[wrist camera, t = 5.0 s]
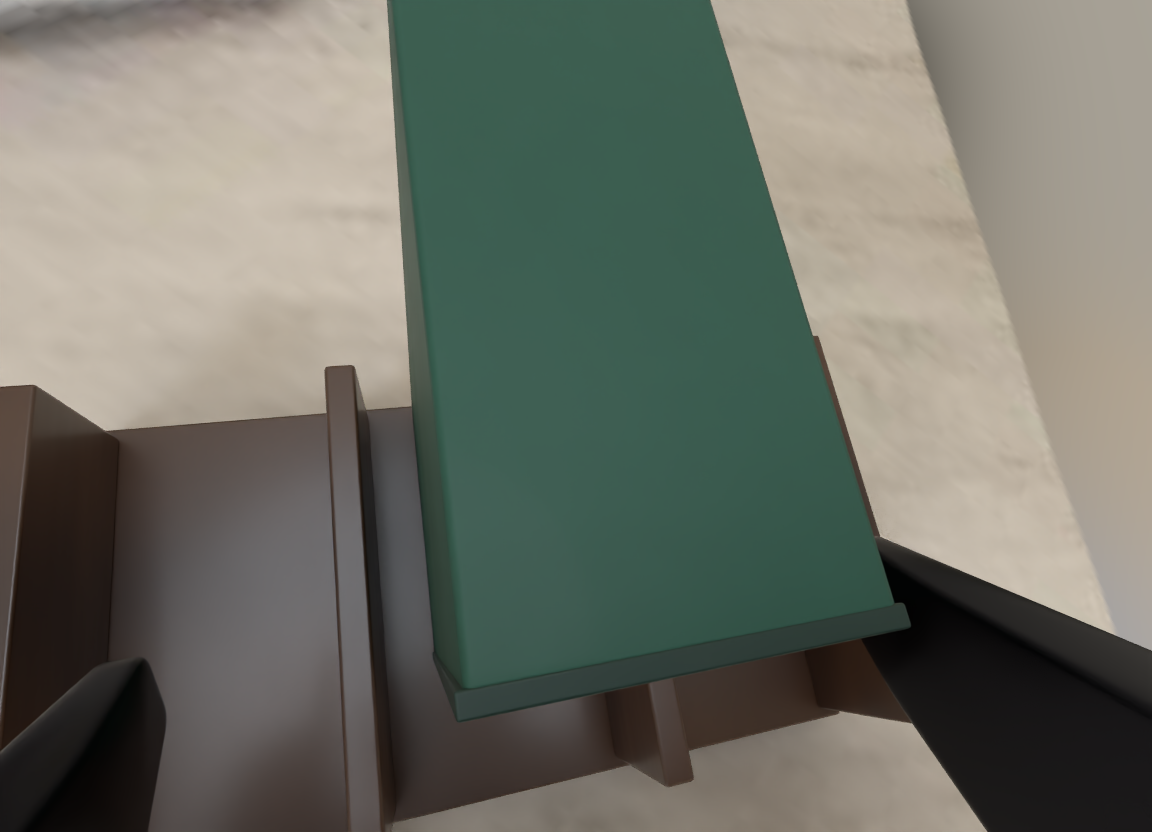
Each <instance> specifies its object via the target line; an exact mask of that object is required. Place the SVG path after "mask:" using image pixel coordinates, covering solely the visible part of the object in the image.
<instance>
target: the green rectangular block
mask: <svg viewBox="0 0 1152 832" xmlns="http://www.w3.org/2000/svg"><path fill="white" fill-rule="evenodd" d="M387 8H388V24H389V40H390V57H391V73H392V89H393V106H394V122H395V138H396V155H397V171H398V187H399V204H400V220H401V236H402V253H403V269H404V285H405V302H406V318H407V334H408V351H409V367H410V383H411V400H412V416H413V427H414V437H415V448H416V459H417V470H418V480H419V491H420V502H421V513H422V523H423V534H424V545H425V555H426V566H427V577H428V588H429V598H430V609H431V620H432V630H433V641H434V652H433V653H432V654H433V660H434V663H435V666H436V668H437V671H438V674H439V676H440V679H441V682H442V684H443V687H444V690H445V692H446V695H447V698H448V700H449V703H450V706H451V708H452V711H453V714H454V716H455V719H456V721H457V722H458V723H462V722H467V721H472V720H476V719H481V718H486V717H491V716H495V715H500V714H505V713H510V712H514V711H519V710H524V709H529V708H533V707H538V706H543V705H548V704H552V703H557V702H562V701H566V700H571V699H576V698H581V697H585V696H590V695H595V694H600V693H604V692H609V691H614V690H619V689H623V688H628V687H633V686H638V685H642V684H647V683H652V682H657V681H661V680H666V679H671V678H676V677H680V676H685V675H690V674H695V673H699V672H704V671H709V670H713V669H718V668H723V667H728V666H732V665H737V664H742V663H747V662H751V661H756V660H761V659H766V658H770V657H775V656H780V655H785V654H789V653H794V652H799V651H804V650H808V649H813V648H818V647H823V646H827V645H832V644H837V643H842V642H846V641H851V640H856V639H861V638H865V637H870V636H875V635H879V634H884V633H889V632H894V631H898V630H903V629H908V628H910V627H911V624H910V620H909V617H908V614H907V611H906V608H905V605H904V604H903V603H894V600H893V597H892V593H891V590H890V587H889V584H888V580H887V577H886V574H885V571H884V567H883V564H882V561H881V557H880V554H879V551H878V548H877V544H876V541H875V538H874V535H873V531H872V528H871V525H870V521H869V518H868V515H867V512H866V508H865V505H864V502H863V499H862V495H861V492H860V489H859V486H858V482H857V479H856V476H855V472H854V469H853V466H852V463H851V459H850V456H849V453H848V450H847V446H846V443H845V440H844V436H843V433H842V430H841V427H840V423H839V420H838V417H837V414H836V410H835V407H834V404H833V400H832V397H831V394H830V391H829V387H828V384H827V381H826V378H825V374H824V371H823V368H822V365H821V361H820V358H819V355H818V351H817V348H816V345H815V342H814V338H813V335H812V332H811V329H810V325H809V322H808V319H807V315H806V312H805V309H804V306H803V302H802V299H801V296H800V293H799V289H798V286H797V283H796V280H795V276H794V273H793V270H792V266H791V263H790V260H789V257H788V253H787V250H786V247H785V244H784V240H783V237H782V234H781V230H780V227H779V224H778V221H777V217H776V214H775V211H774V208H773V204H772V201H771V198H770V194H769V191H768V188H767V185H766V181H765V178H764V175H763V172H762V168H761V165H760V162H759V159H758V155H757V152H756V149H755V145H754V142H753V139H752V136H751V132H750V129H749V126H748V123H747V119H746V116H745V113H744V109H743V106H742V103H741V100H740V96H739V93H738V90H737V87H736V83H735V80H734V77H733V73H732V70H731V67H730V64H729V60H728V57H727V54H726V51H725V47H724V44H723V41H722V38H721V34H720V31H719V28H718V24H717V21H716V18H715V15H714V11H713V8H712V5H711V2H710V0H387Z"/></svg>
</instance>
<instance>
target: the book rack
mask: <svg viewBox="0 0 1152 832" xmlns="http://www.w3.org/2000/svg"><path fill="white" fill-rule="evenodd" d="M813 338H814V342H815V345H816V348H817V351H818V355H819V358H820V361H821V365H822V368H823V371H824V374H825V378H826V381H827V384H828V387H829V391H830V394H831V397H832V400H833V404H834V407H835V410H836V414H837V417H838V420H839V423H840V427H841V430H842V433H843V436H844V440H845V443H846V446H847V450H848V453H849V456H850V459H851V463H852V466H853V469H854V472H855V476H856V479H857V482H858V486H859V489H860V492H861V495H862V499H863V502H864V505H865V508H866V512H867V515H868V518H869V521H870V525H871V528H872V531H873V535H874V536H877V537H880V535H879V532H878V528H877V525H876V522H875V519H874V515H873V512H872V509H871V506H870V502H869V499H868V496H867V493H866V489H865V486H864V483H863V480H862V476H861V473H860V470H859V467H858V463H857V460H856V457H855V454H854V451H853V447H852V444H851V441H850V438H849V434H848V431H847V428H846V425H845V421H844V418H843V415H842V412H841V408H840V405H839V402H838V399H837V395H836V392H835V389H834V386H833V382H832V379H831V376H830V373H829V370H828V366H827V363H826V360H825V357H824V353H823V350H822V347H821V344H820V340H819V337H818V336H813ZM324 371H325V391H326V411H327V413H325V414H312V415H300V416H287V417H275V418H262V419H250V420H237V421H225V422H213V423H200V424H188V425H175V426H163V427H150V428H138V429H125V430H113V431H105V430H103V429H102V428H100V427H99V426H97V425H95V424H94V423H92V422H91V421H89V420H88V419H86V418H85V417H83V416H82V415H80V414H79V413H77V412H76V411H74V410H73V409H71V408H70V407H68V406H66V405H65V404H63V403H62V402H60V401H59V400H57V399H56V398H54V397H53V396H51V395H50V394H48V393H47V392H45V391H44V390H42V389H41V388H39V387H37V386H35V385H22V386H6V387H0V751H1V750H3V749H4V748H5V747H6V746H7V745H8V744H9V743H10V742H12V741H13V740H14V739H15V738H16V737H17V736H18V735H19V734H20V733H22V732H23V731H24V730H25V729H26V728H27V727H28V726H29V725H30V724H32V723H33V722H34V721H35V720H36V719H37V718H38V717H39V716H40V715H42V714H43V713H44V712H45V711H46V710H47V709H48V708H49V707H51V706H52V705H53V704H54V703H55V702H56V701H57V700H58V699H59V698H61V697H62V696H63V695H64V694H65V693H66V692H67V691H68V690H69V689H71V688H72V687H73V686H74V685H75V684H76V683H77V682H78V681H79V680H81V679H82V678H83V677H84V676H85V675H86V674H87V673H88V672H90V671H91V670H92V669H93V668H94V667H96V666H97V665H99V664H101V663H104V662H107V661H113V660H119V659H125V658H131V657H143V658H145V659H146V660H147V661H148V662H149V664H150V666H151V669H152V671H153V674H154V677H155V680H156V682H157V685H158V688H159V691H160V693H161V696H162V699H163V702H164V704H165V708H166V715H167V724H166V732H165V738H164V744H163V749H162V755H161V761H160V766H159V772H158V778H157V783H156V789H155V795H154V800H153V806H152V812H151V817H150V823H149V828H148V832H392V826H393V823H395V822H399V821H403V820H407V819H411V818H416V817H420V816H424V815H428V814H432V813H436V812H440V811H444V810H448V809H452V808H456V807H460V806H465V805H469V804H473V803H477V802H481V801H485V800H489V799H493V798H497V797H501V796H505V795H509V794H514V793H518V792H522V791H526V790H530V789H534V788H538V787H542V786H546V785H550V784H554V783H558V782H563V781H567V780H571V779H575V778H579V777H583V776H587V775H591V774H595V773H599V772H603V771H607V770H612V769H616V768H620V767H624V766H628V765H631V766H633V767H635V768H636V769H638V770H640V771H641V772H643V773H645V774H646V775H648V776H649V777H651V778H653V779H654V780H656V781H658V782H659V783H661V784H663V785H664V786H666V787H672V786H676V785H679V784H683V783H687V782H691V781H692V780H694V776H693V770H692V765H691V760H690V755H689V750H693V749H697V748H701V747H705V746H709V745H714V744H718V743H722V742H726V741H730V740H734V739H738V738H742V737H746V736H750V735H754V734H758V733H763V732H767V731H771V730H775V729H779V728H783V727H787V726H791V725H795V724H799V723H803V722H807V721H812V720H816V719H820V718H824V717H828V716H832V715H836V714H838V713H839V711H842V712H848V713H854V714H859V715H865V716H871V717H877V718H883V719H889V720H895V721H901V722H907V723H912V722H911V721H910V719H909V718H908V716H907V715H906V714H905V712H904V711H903V709H902V708H901V706H900V705H899V703H898V702H897V700H896V699H895V697H894V696H893V694H892V692H891V691H890V689H889V687H888V686H887V684H886V682H885V681H884V679H883V677H882V676H881V674H880V672H879V670H878V669H877V667H876V665H875V663H874V661H873V660H872V658H871V656H870V654H869V653H868V651H867V649H866V647H865V646H864V644H863V642H862V640H861V639H856V640H851V641H846V642H842V643H837V644H832V645H827V646H823V647H818V648H813V649H808V650H804V651H799V652H794V653H789V654H785V655H780V656H775V657H770V658H766V659H761V660H756V661H751V662H747V663H742V664H737V665H732V666H728V667H723V668H718V669H713V670H709V671H704V672H699V673H695V674H690V675H685V676H680V677H676V678H671V679H666V680H661V681H657V682H652V683H647V684H642V685H638V686H633V687H628V688H623V689H619V690H614V691H609V692H604V693H600V694H595V695H590V696H585V697H581V698H576V699H571V700H566V701H562V702H557V703H552V704H548V705H543V706H538V707H533V708H529V709H524V710H519V711H514V712H510V713H505V714H500V715H495V716H491V717H486V718H481V719H476V720H472V721H467V722H462V723H458V722H457V721H456V719H455V716H454V714H453V711H452V708H451V706H450V703H449V700H448V698H447V695H446V692H445V690H444V687H443V684H442V682H441V679H440V676H439V674H438V671H437V668H436V666H435V663H434V660H433V654H432V653H433V652H434V641H433V630H432V620H431V609H430V598H429V588H428V577H427V566H426V555H425V545H424V534H423V523H422V513H421V502H420V491H419V480H418V470H417V459H416V448H415V437H414V427H413V416H412V407H399V408H387V409H374V410H366V408H365V404H364V400H363V397H362V393H361V389H360V385H359V381H358V377H357V374H356V370H355V367H354V366H352V365H346V366H330V367H326V368H325V370H324Z"/></svg>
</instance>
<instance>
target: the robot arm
mask: <svg viewBox="0 0 1152 832" xmlns="http://www.w3.org/2000/svg"><path fill="white" fill-rule="evenodd" d="M874 538H875V541H876V544H877V548H878V551H879V554H880V557H881V561H882V564H883V567H884V571H885V574H886V577H887V580H888V584H889V587H890V590H891V593H892V597H893V600H894V603H903V604H904V605H905V608H906V611H907V614H908V617H909V620H910V624H911V627H910V628H908V629H903V630H898V631H894V632H889V633H884V634H879V635H875V636H870V637H865V638H861V640H862V642H863V644H864V646H865V647H866V649H867V651H868V653H869V654H870V656H871V658H872V660H873V661H874V663H875V665H876V667H877V669H878V670H879V672H880V674H881V676H882V677H883V679H884V681H885V682H886V684H887V686H888V687H889V689H890V691H891V692H892V694H893V696H894V697H895V699H896V700H897V702H898V703H899V705H900V706H901V708H902V709H903V711H904V712H905V714H906V715H907V716H908V718H909V719H910V721H911V722H912V724H913V725H914V727H915V728H916V729H917V731H918V732H919V734H920V735H921V737H922V738H923V740H924V741H925V742H926V744H927V745H928V747H929V748H930V750H931V751H932V753H933V754H934V755H935V757H936V758H937V760H938V761H939V763H940V764H941V766H942V767H943V768H944V770H945V771H946V773H947V774H948V776H949V777H950V779H951V780H952V781H953V783H954V784H955V786H956V787H957V789H958V790H959V792H960V793H961V794H962V796H963V797H964V799H965V800H966V802H967V803H968V805H969V806H970V807H971V809H972V810H973V812H974V813H975V815H976V816H977V818H978V819H979V820H980V822H981V823H982V825H983V826H984V828H985V829H986V831H987V832H1152V651H1151V650H1148V649H1146V648H1144V647H1141V646H1139V645H1137V644H1134V643H1132V642H1129V641H1127V640H1125V639H1122V638H1120V637H1118V636H1115V635H1113V634H1110V633H1108V632H1106V631H1103V630H1101V629H1098V628H1096V627H1094V626H1091V625H1089V624H1086V623H1084V622H1082V621H1079V620H1077V619H1075V618H1072V617H1070V616H1067V615H1065V614H1063V613H1060V612H1058V611H1055V610H1053V609H1051V608H1048V607H1046V606H1044V605H1041V604H1039V603H1036V602H1034V601H1032V600H1029V599H1027V598H1024V597H1022V596H1020V595H1017V594H1015V593H1012V592H1010V591H1008V590H1005V589H1003V588H1001V587H998V586H996V585H993V584H991V583H989V582H986V581H984V580H981V579H979V578H977V577H974V576H972V575H970V574H967V573H965V572H962V571H960V570H958V569H955V568H953V567H950V566H948V565H946V564H943V563H941V562H939V561H936V560H934V559H931V558H929V557H927V556H924V555H922V554H919V553H917V552H915V551H912V550H910V549H907V548H905V547H903V546H900V545H898V544H896V543H893V542H891V541H888V540H886V539H884V538H881V537H877V536H874ZM166 724H167V715H166V708H165V704H164V702H163V699H162V696H161V693H160V691H159V688H158V685H157V682H156V680H155V677H154V674H153V671H152V669H151V666H150V664H149V662H148V661H147V660H146V659H145V658H143V657H131V658H125V659H119V660H113V661H107V662H104V663H101V664H99V665H97V666H96V667H94V668H93V669H92V670H91V671H90V672H88V673H87V674H86V675H85V676H84V677H83V678H82V679H81V680H79V681H78V682H77V683H76V684H75V685H74V686H73V687H72V688H71V689H69V690H68V691H67V692H66V693H65V694H64V695H63V696H62V697H61V698H59V699H58V700H57V701H56V702H55V703H54V704H53V705H52V706H51V707H49V708H48V709H47V710H46V711H45V712H44V713H43V714H42V715H40V716H39V717H38V718H37V719H36V720H35V721H34V722H33V723H32V724H30V725H29V726H28V727H27V728H26V729H25V730H24V731H23V732H22V733H20V734H19V735H18V736H17V737H16V738H15V739H14V740H13V741H12V742H10V743H9V744H8V745H7V746H6V747H5V748H4V749H3V750H1V751H0V832H148V828H149V823H150V817H151V812H152V806H153V800H154V795H155V789H156V783H157V778H158V772H159V766H160V761H161V755H162V749H163V744H164V738H165V732H166Z"/></svg>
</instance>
